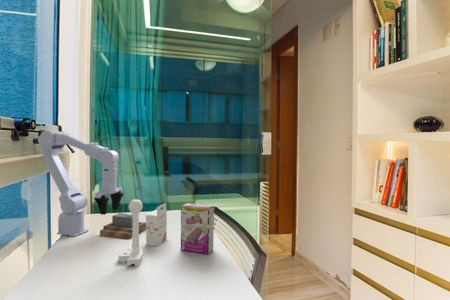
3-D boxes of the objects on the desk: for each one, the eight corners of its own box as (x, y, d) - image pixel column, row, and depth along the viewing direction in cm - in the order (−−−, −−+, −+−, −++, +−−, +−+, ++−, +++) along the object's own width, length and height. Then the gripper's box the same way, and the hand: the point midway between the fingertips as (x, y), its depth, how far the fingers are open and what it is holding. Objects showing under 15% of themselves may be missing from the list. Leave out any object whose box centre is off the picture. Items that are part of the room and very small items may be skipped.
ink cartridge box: (155, 237, 115) (155, 201, 114) (166, 238, 114) (167, 202, 113) (145, 245, 106) (145, 206, 106) (157, 246, 105) (157, 207, 105)
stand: (100, 235, 117) (100, 227, 117) (121, 225, 131) (121, 218, 130) (129, 238, 113) (129, 230, 113) (148, 228, 127) (148, 221, 127)
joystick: (142, 265, 89) (142, 202, 89) (116, 268, 87) (116, 204, 87) (142, 252, 100) (142, 196, 99) (119, 254, 98) (119, 196, 97)
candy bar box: (179, 250, 102) (180, 205, 101) (186, 245, 107) (186, 202, 106) (208, 255, 98) (209, 208, 98) (213, 250, 103) (214, 205, 102)
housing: (112, 227, 121) (112, 214, 120) (119, 224, 125) (119, 211, 125) (130, 229, 118) (130, 216, 118) (137, 226, 123) (137, 213, 123)
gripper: (105, 182, 109) (105, 217, 110) (128, 177, 123) (128, 208, 124) (90, 181, 111) (90, 215, 112) (114, 177, 125) (114, 207, 126)
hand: (109, 212), depth 118 cm, fingers open, 7 cm apart
